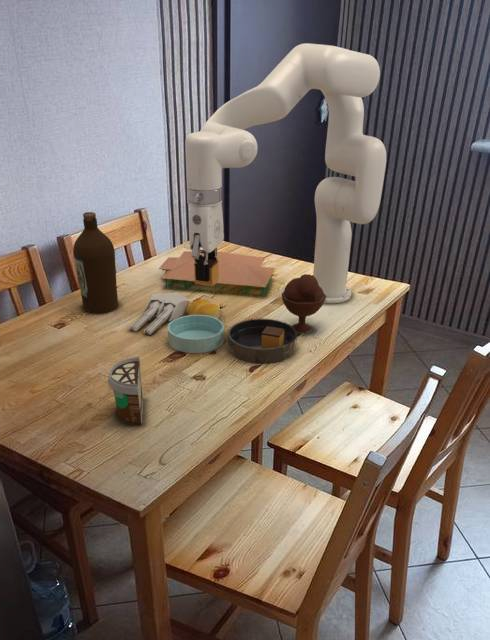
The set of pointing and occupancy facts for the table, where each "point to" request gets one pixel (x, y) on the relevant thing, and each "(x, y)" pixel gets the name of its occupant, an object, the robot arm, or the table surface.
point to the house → (221, 271)
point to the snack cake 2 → (272, 337)
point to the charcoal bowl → (260, 341)
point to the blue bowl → (195, 333)
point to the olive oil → (95, 267)
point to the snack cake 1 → (210, 273)
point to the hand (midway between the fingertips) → (206, 276)
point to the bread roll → (204, 308)
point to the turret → (161, 310)
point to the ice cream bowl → (303, 299)
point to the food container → (127, 390)
